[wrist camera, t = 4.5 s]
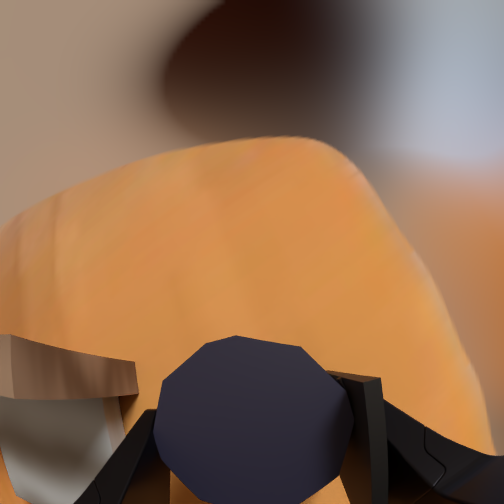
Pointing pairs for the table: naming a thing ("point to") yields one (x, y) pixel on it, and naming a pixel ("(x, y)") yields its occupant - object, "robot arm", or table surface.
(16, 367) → the wall board
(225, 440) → the dark grey mug
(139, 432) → the robot arm
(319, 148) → the table surface
